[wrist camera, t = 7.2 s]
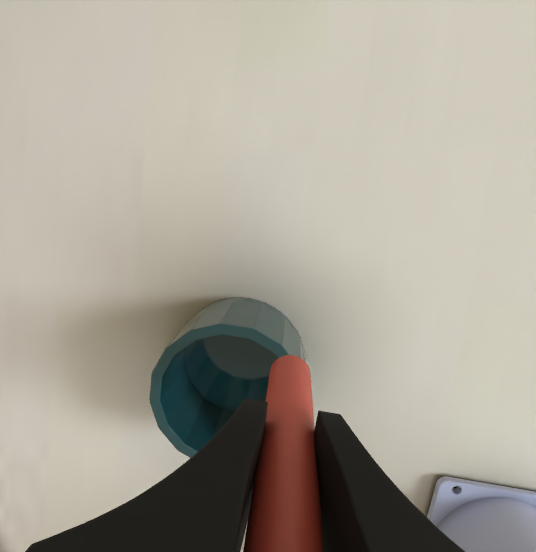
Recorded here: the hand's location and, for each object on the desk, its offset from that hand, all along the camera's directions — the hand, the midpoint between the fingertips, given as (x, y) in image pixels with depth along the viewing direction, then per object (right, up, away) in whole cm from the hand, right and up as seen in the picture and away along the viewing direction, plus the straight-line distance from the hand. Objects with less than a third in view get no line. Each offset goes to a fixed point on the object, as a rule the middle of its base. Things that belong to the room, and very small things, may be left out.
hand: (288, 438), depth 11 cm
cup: (-2, 0, +11) cm, 11 cm away
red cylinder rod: (0, +1, +4) cm, 4 cm away
